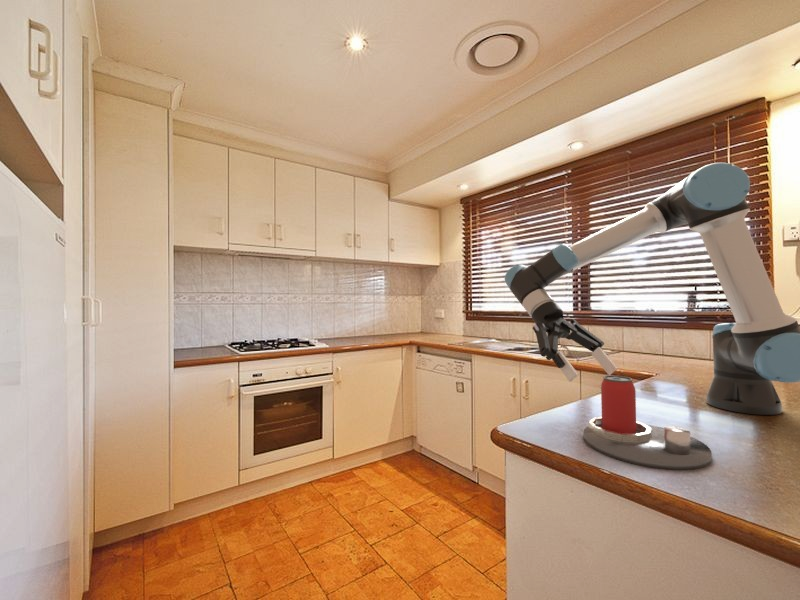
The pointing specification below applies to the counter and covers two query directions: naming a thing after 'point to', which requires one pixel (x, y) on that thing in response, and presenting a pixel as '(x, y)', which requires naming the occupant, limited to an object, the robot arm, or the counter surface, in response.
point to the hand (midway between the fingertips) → (594, 374)
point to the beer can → (618, 404)
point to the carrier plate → (650, 446)
